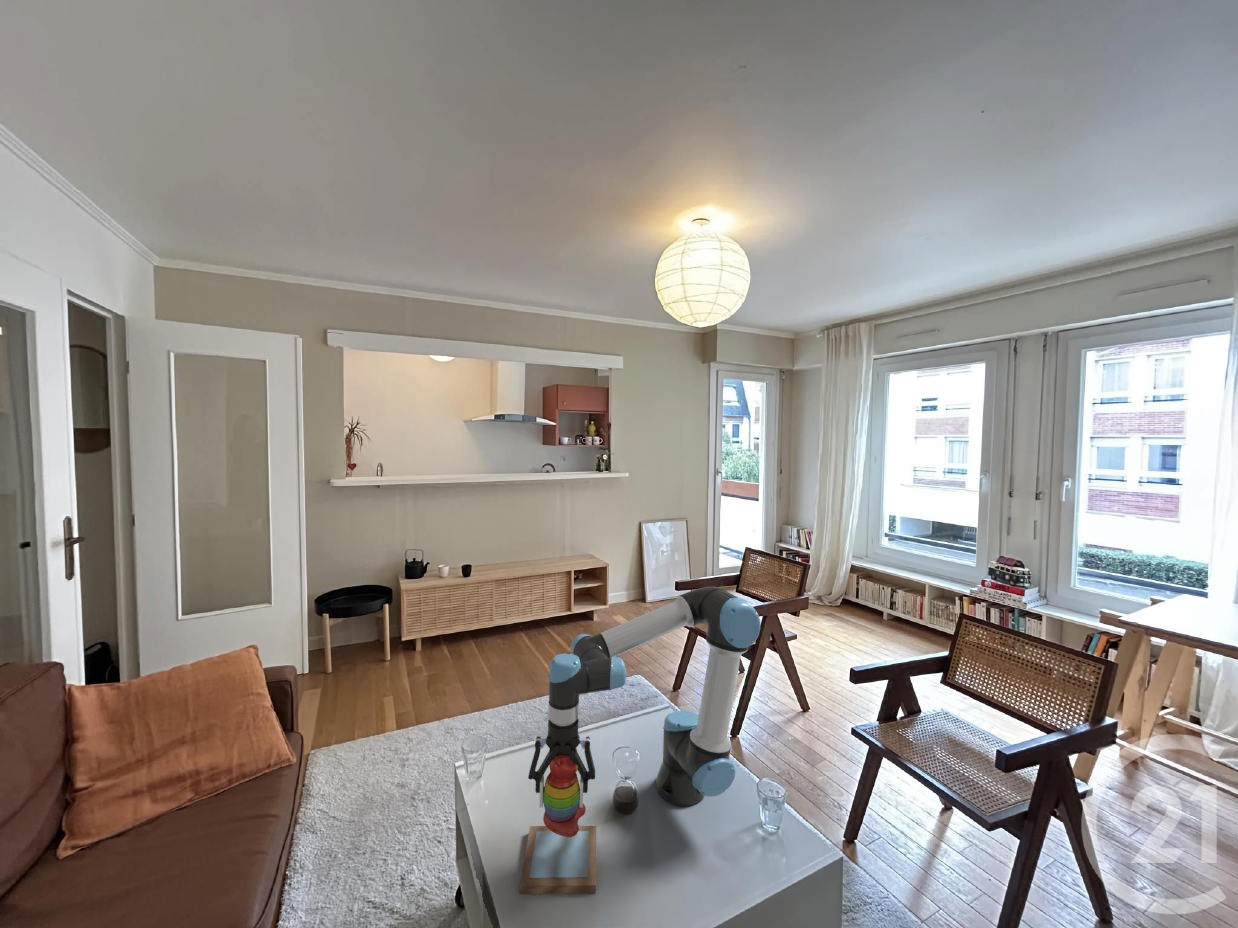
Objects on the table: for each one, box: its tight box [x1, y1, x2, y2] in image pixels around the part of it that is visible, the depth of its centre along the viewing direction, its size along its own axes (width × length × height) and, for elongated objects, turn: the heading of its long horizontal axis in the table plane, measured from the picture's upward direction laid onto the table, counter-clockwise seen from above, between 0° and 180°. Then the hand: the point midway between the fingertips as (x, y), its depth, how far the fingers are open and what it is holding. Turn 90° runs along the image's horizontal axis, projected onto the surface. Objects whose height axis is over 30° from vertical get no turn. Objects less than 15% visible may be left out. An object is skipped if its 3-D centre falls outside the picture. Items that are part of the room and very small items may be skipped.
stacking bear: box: [543, 755, 587, 837], centre depth 128 cm, size 11×10×18 cm
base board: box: [519, 825, 597, 895], centre depth 130 cm, size 18×18×2 cm
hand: (561, 803), depth 128 cm, fingers closed on stacking bear, 9 cm apart
